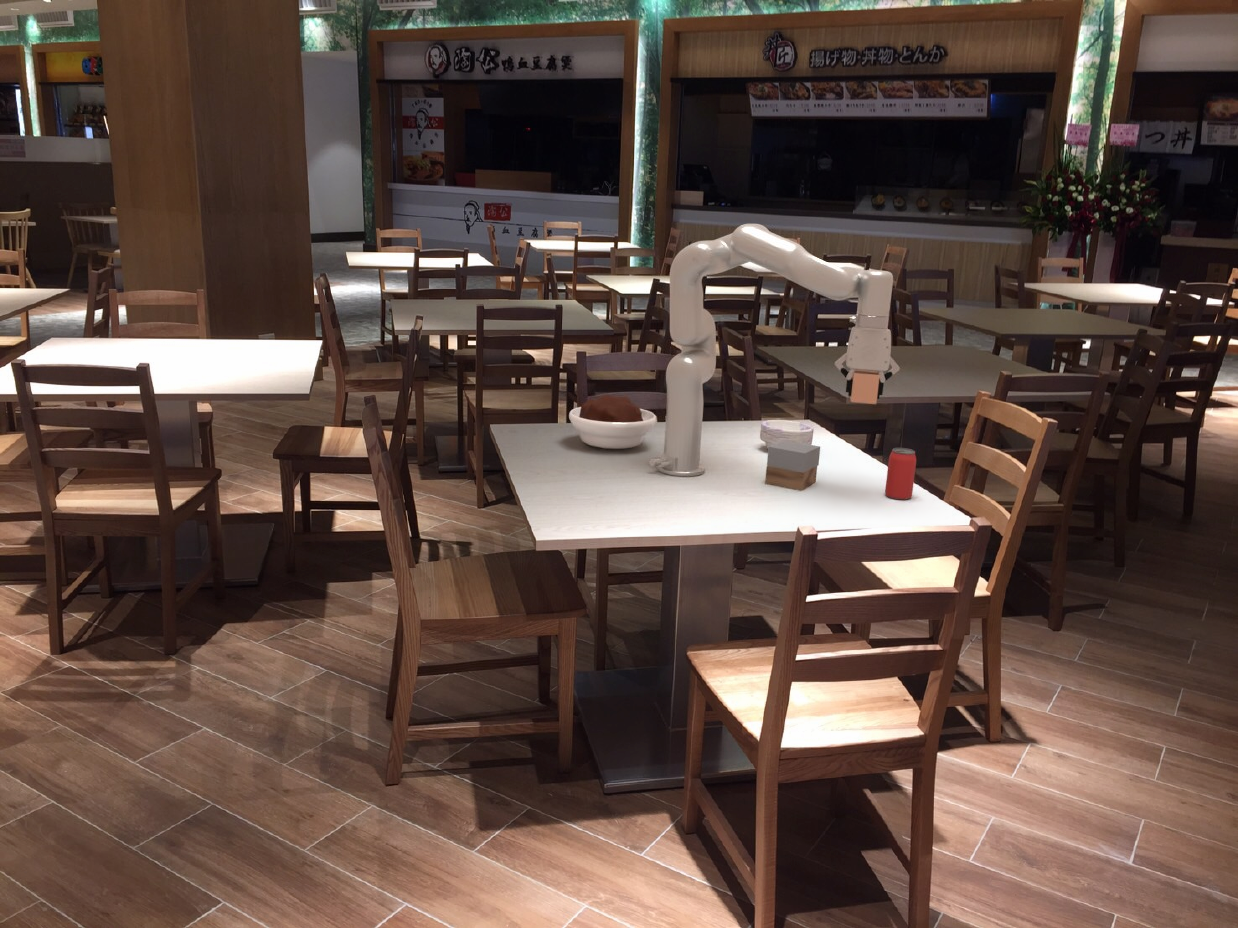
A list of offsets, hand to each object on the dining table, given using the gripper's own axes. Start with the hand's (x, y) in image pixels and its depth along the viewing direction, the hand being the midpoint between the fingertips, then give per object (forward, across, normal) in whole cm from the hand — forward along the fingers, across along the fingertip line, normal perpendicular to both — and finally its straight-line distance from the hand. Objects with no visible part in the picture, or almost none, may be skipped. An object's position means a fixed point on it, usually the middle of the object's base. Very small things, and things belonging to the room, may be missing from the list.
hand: (863, 396), depth 250 cm
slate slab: (+21, -15, +7) cm, 27 cm away
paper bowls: (+26, -18, +43) cm, 53 cm away
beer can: (+26, +11, +4) cm, 28 cm away
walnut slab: (+26, -16, +7) cm, 31 cm away
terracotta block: (+1, 0, 0) cm, 1 cm away
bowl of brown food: (+26, -68, +29) cm, 78 cm away
